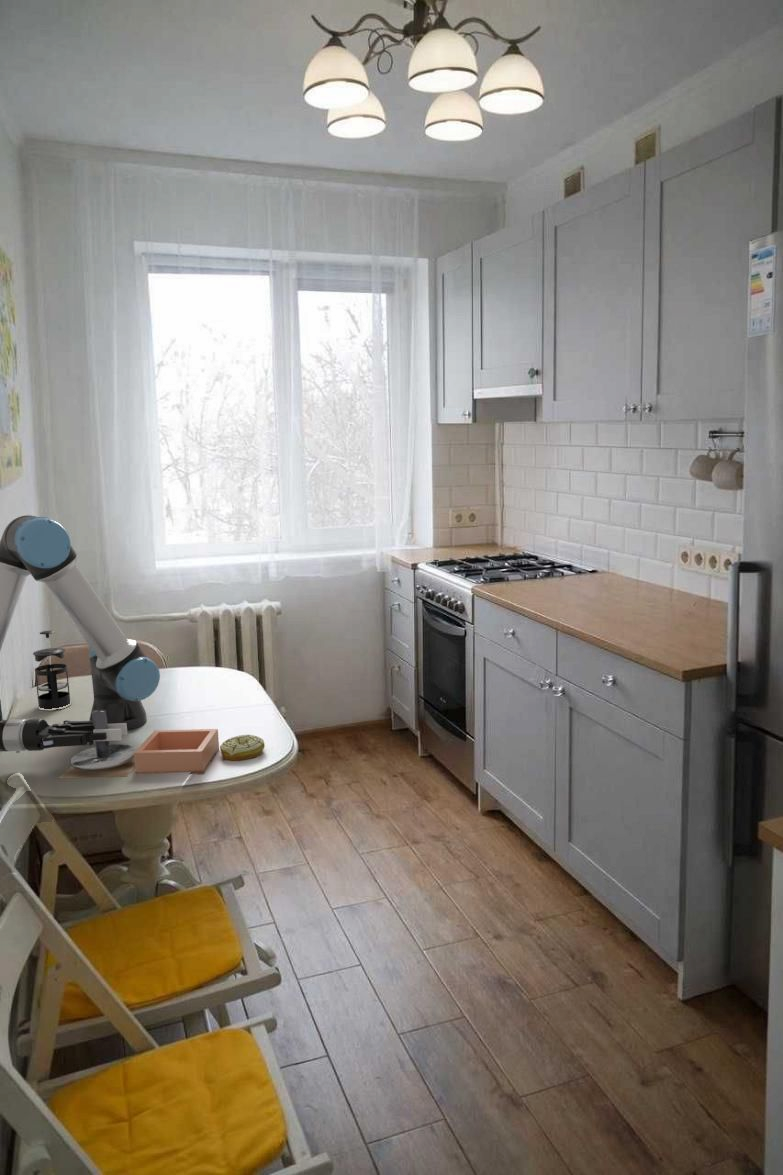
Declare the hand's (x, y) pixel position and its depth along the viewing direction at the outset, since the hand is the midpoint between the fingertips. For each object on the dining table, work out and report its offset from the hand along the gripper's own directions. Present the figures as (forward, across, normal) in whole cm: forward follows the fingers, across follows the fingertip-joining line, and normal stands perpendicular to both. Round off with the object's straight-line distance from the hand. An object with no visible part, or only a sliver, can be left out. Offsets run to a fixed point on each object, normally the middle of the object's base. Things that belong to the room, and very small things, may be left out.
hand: (123, 731), depth 212 cm
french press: (-39, -52, -9) cm, 66 cm away
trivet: (-5, 0, -9) cm, 10 cm away
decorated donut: (+27, -7, -10) cm, 29 cm away
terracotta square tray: (+12, -2, -9) cm, 15 cm away
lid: (-5, 0, -6) cm, 8 cm away
